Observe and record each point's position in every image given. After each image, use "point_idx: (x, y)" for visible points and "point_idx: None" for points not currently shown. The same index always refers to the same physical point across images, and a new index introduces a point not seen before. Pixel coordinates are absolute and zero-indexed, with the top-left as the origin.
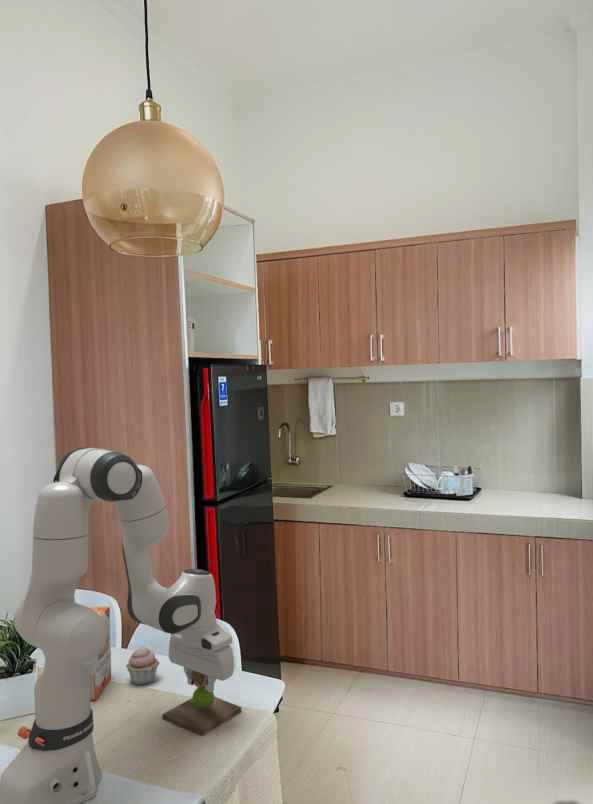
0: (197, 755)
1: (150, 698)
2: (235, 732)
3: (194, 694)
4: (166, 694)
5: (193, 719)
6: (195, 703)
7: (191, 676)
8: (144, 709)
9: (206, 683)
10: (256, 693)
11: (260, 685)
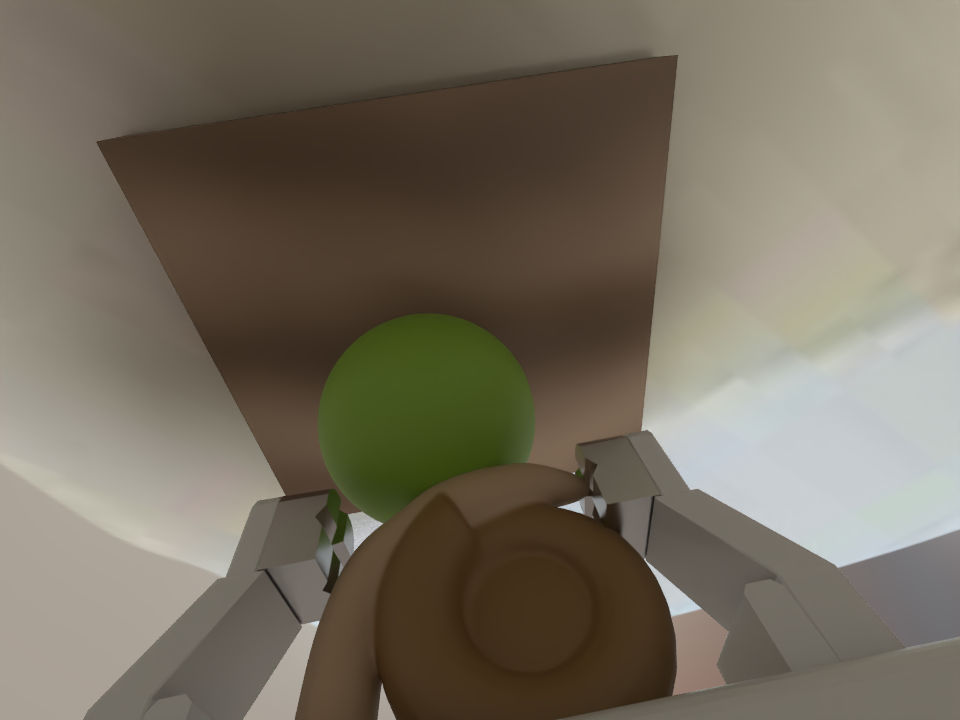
0: None
1: (950, 196)
2: (59, 364)
3: (455, 377)
4: (860, 308)
5: (369, 222)
6: (409, 320)
7: (655, 534)
8: (914, 42)
9: (325, 578)
10: None
11: None
